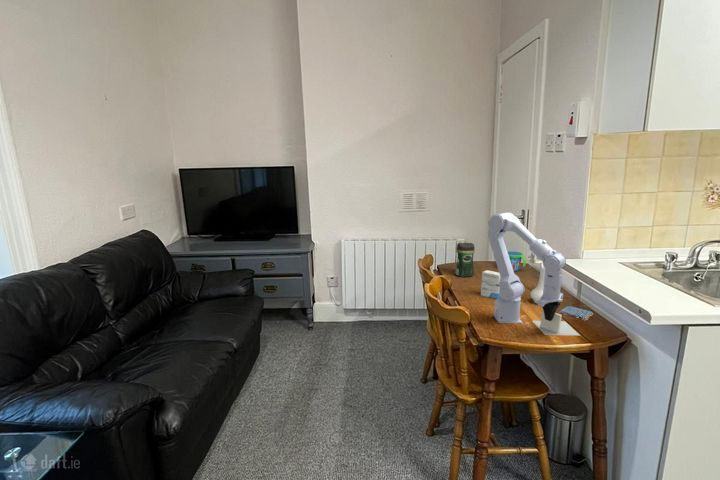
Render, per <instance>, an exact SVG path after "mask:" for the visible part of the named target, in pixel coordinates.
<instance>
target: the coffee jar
mask: <svg viewBox="0 0 720 480" xmlns="http://www.w3.org/2000/svg"><path fill="white" fill-rule="evenodd" d="M475 251H476V249H475V244H474V243H473V242H459V243H458V242H457V245H456V253H457V259H456V266H455V275H456V276H457V277H460V278H469V277H470V278H471V277H473V276H475V275H474V274H475V273H474V272H475V271H474V255H475V254H474V253H475Z"/></svg>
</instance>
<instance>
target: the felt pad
mask: <svg viewBox="0 0 720 480" xmlns="http://www.w3.org/2000/svg"><path fill="white" fill-rule="evenodd" d="M532 322H533V324H535V326H536V327H537V328H538V329H539V330H540V331H541V332H542V334H544V336H578V337H579V336H581V335H580V334H579V333H578V332H577V331H576V330H575V329H574V328H573V327H572V326H571V325H570V324H568V323H567V322H566V321H565V320H561V324H560V331H559V333H556V332H553V331H550V330H547V329H544V328H542V327H540V323H541V320H532Z"/></svg>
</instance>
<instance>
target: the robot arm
mask: <svg viewBox="0 0 720 480" xmlns="http://www.w3.org/2000/svg"><path fill="white" fill-rule="evenodd" d="M487 225H488V233H487V238H488V241H489V245H490V248H491V250H492V253H493V257H494V259H495V264H496V267H497V270H498V273H500V277H501V279H500V281H499V288H500V289H499V294H500V296H501V297H500V298H499V299H495V301H494V311H493V317H494V318H495V320H496V321H497V323H499V324H500V323H501V324H506V323H509V324H523V323H524V322H523V321H522V320H521V318H520V313H521V299H522V296H523V295H524V294H525V291H526V290H525V286H524V284H523V283H522V282H521V279H520V277H519V276H518V275H517V274H515V271H513V268H512V265H511V262H510V258H509V255H508V252H507V251H508V250H507V246H506V243H505V240H504V236H505V235H506V233H507V232H513V233H514V234H516V235H517V236H518V237H519V238H520V239H522V240H523V241H524V242H525V243H526V244H527V245H529V250H530V252H532V253H534V254H535V255H536V256H537V257H538V258H539V259H540V260H541V261H542V262H543V266H544V268H545V277H544V288H543V295H542V297H541V298H540V300H538V304H537V306H540V307H542V310H543V311H544V316H545V320H548V321H552V319H553V317H554V314H555V313H557V310H558V308H559V307H560V306H561V302H563V299H564V293H562V292H561V289H562V287H561V286H562V280H563V279H562V277H563V267H565V266H566V264H567V260H566V257H565V256H564V255H563V254H562V253H561V252H557V250H555V249H553V248H552V247H551V246H550V245H549V244H547V243H548V241H546V240H545V239H544V240H543V239H541V238H536V236H535V235H533V234H532V233H531V231H529V230H528V229H527V227H525V225H524V224H523V223H522V222H521V221H520V220H519V218H518V217H517V216H515V215H514V214H513V213H512V212H510V211H506V212H502V213H495V214H493V215H492V216H491V217H490V218H489V219H488V221H487Z"/></svg>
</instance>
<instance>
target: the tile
mask: <svg viewBox="0 0 720 480" xmlns="http://www.w3.org/2000/svg"><path fill="white" fill-rule="evenodd" d="M562 316H563V314H561V313H557V312H555V314H554V317H553V319H552V321H548V320H545V316H544V311H543V309H542V310H541V318H540V321H541V323H540V327H542V328H544V329H547V330H550V331H553V332H556V333H559V331H560V324H561V321H562Z"/></svg>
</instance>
